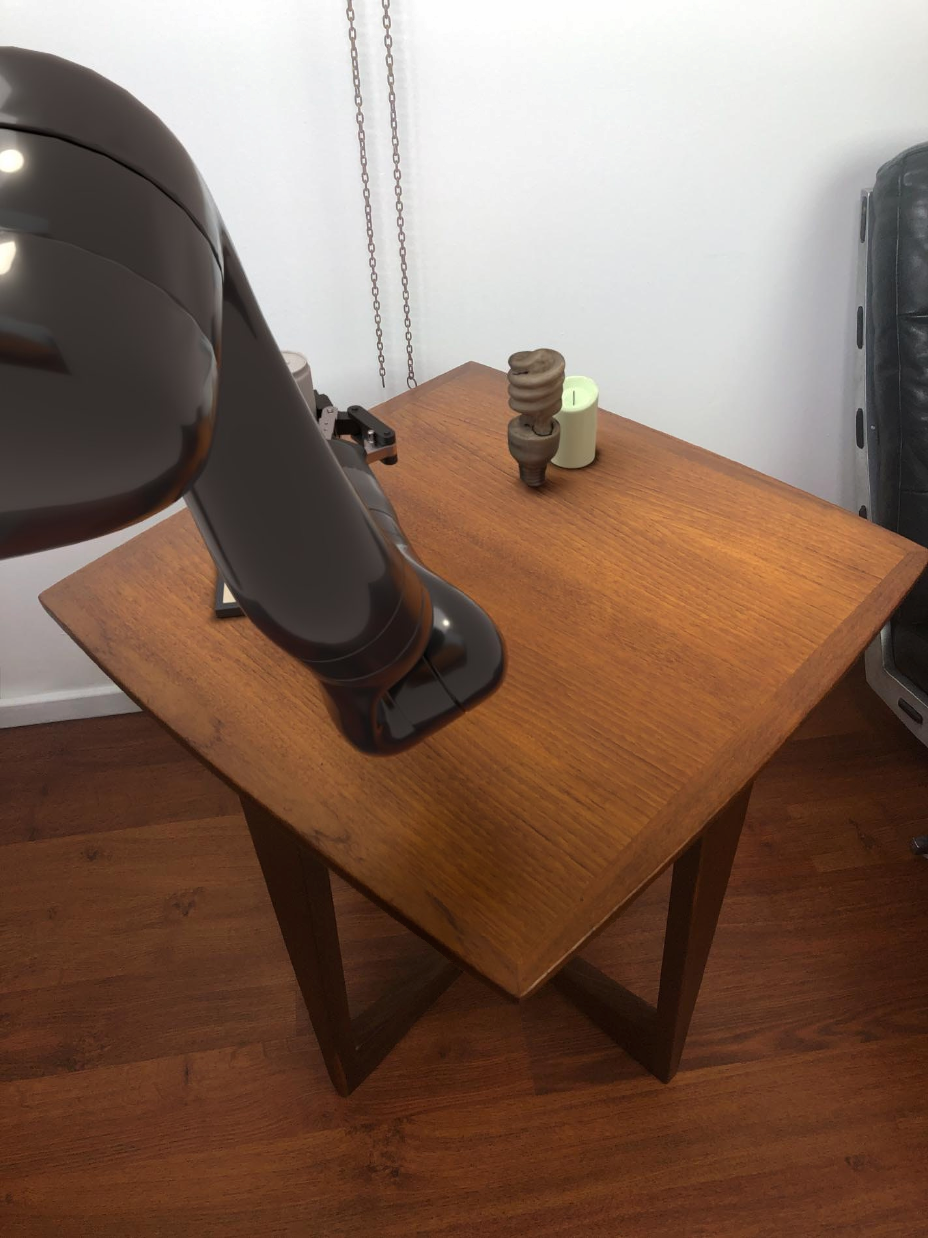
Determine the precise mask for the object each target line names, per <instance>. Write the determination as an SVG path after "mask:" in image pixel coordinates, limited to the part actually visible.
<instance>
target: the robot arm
mask: <svg viewBox="0 0 928 1238" xmlns="http://www.w3.org/2000/svg"><path fill="white" fill-rule="evenodd" d="M280 350H281V349H280V346H279V344H278V343H277V340H276V338H275V337H274V334H273V332H272V330H271V328H270V326H269V324H268V322H267V320H266V318H265V315H264V313H263V310H262V308H261V305H260V303H259V301H258V299H257V296H256V294H255V292H254V289H253V286H252V285H251V283H250V280H249V277H248V275H247V273H246V270H245V267H244V265H243V263H242V261H241V258H240V256H239V253H238V251H237V249H236V246H235V244H234V242H233V239H232V237H231V235H230V232H229V229H228V228H227V225H226V223H225V220H224V219H223V216H222V213H221V212H220V209H219V207H218V205H217V203H216V201H215V198H214V196H213V194H212V192H211V190H210V188H209V186H208V184H207V182H206V179H205V177H204V176H203V174H202V173H201V171H200V170H199V168H198V166H197V164H196V163H195V161H194V160H193V157H192V156H191V155H190V153H189V151H188V150H187V148H186V147H185V146H184V144H183V143H182V142H181V140H180V139H179V138H178V137H177V136H176V134H175V133H174V132H173V131H172V130H171V128H170V127H169V126H168V125H167V124H166V123H165V122H164V121H163V120H162V119H161V117H160V116H158V115H157V114H156V113H155V112H154V111H152V109H150V108H149V107H148V106H146V104H144V103H143V102H142V101H140V100H139V99H138V98H137V97H136V96H134V95H133V94H132V93H131V92H129V90H127V89H126V88H124V87H123V86H121V85H119V84H117V83H116V82H114V81H113V80H111V79H109V78H108V77H106V76H103V75H102V74H101V73H99V72H97V71H95V70H94V69H92V68H90V67H88V66H84V65H82V64H79V63H76V62H74V61H71V60H69V59H67V58H64V57H62V56H59V55H56V54H53V53H49V52H45V51H39V50H34V49H29V48H23V47H19V46H14V45H0V562H2V561H7V560H11V559H16V558H21V557H26V556H30V555H34V554H35V555H36V554H39V553H42V552H48V551H52V550H56V549H60V548H65V547H69V546H74V545H78V544H82V543H84V542H85V543H86V542H88V541H92V540H95V539H99V538H102V537H105V536H108V535H112V534H114V533H117V532H120V531H123V530H125V529H128V528H130V527H133V526H135V525H138V524H140V523H143V522H144V521H146V520H148V519H150V518H152V517H153V516H155V515H158V514H159V513H161V512H163V511H165V510H166V509H168V508H170V507H172V506H173V505H174V504H176V503H177V502H178V501H179V500H181V499H182V500H184V503H185V506H186V507H187V509H188V511H189V513H190V515H191V517H192V519H193V521H194V523H195V525H196V528H197V530H198V532H199V535H200V536H201V539H202V540H203V543H204V545H205V547H206V550H207V551H208V553H209V555H210V557H211V560H212V562H213V564H214V566H215V568H216V570H217V571H218V572H219V574H220V575H221V577H222V579H223V581H224V582H225V584H226V586H227V587H228V589H229V591H230V592H231V594H232V596H233V597H234V599H235V601H236V602H237V604H238V605H239V607H240V608H241V610H242V611H243V612H244V614H245V615H244V616H246V618H247V619H248V620H249V622H250V623H252V625H253V626H254V627H255V628H256V629H257V630H258V631H259V632H260V634H262V635H263V637H265V638H266V639H267V640H268V641H270V642H271V644H273V645H274V646H275V647H277V648H278V649H280V650H281V651H282V652H283V653H285V654H286V655H287V656H288V657H289V658H291V659H292V660H294V661H295V662H296V663H297V664H299V665H300V666H301V667H303V668H304V669H305V670H306V671H308V672H309V673H310V675H312V677H313V678H314V679H315V680H316V682H317V686H318V689H319V693H320V695H321V698H322V701H323V704H324V706H325V709H326V711H327V713H328V715H329V718H330V720H331V722H332V723H333V725H334V727H335V729H336V730H337V732H338V733H339V734H340V736H341V737H342V739H344V741H345V742H346V743H347V744H348V745H349V746H350V747H351V748H353V749H354V750H355V751H356V752H358V753H360V754H361V755H364V756H367V757H370V758H376V759H387V758H393V757H397V756H400V755H402V754H404V753H407V752H409V751H411V750H412V749H414V748H415V747H417V746H418V745H420V744H422V743H424V741H426V740H428V738H430V737H432V736H434V735H435V734H437V733H438V732H440V731H442V730H443V729H445V728H446V727H448V726H450V725H451V724H453V723H455V722H456V721H457V720H459V719H460V718H463V717H464V716H465V715H466V714H467V713H470V712H472V711H473V710H475V709H476V708H478V707H480V706H482V705H483V704H484V703H486V702H487V701H489V700H490V699H491V698H492V697H494V696H495V695H496V694H497V693H498V692H499V690H500V689H501V688H502V687H503V686H504V683H505V681H506V678H507V674H508V670H509V660H510V659H509V651H508V646H507V642H506V639H505V637H504V635H503V633H502V631H501V629H500V628H499V626H498V624H497V623H496V622H495V620H494V619H493V617H492V616H491V615H490V614H489V613H488V612H487V611H486V610H485V608H484V607H482V606H481V605H480V604H479V603H478V602H476V601H475V600H474V599H473V598H472V597H471V596H469V595H468V594H467V593H465V592H464V591H463V590H462V589H460V588H459V587H457V586H455V584H453V583H451V582H449V581H448V580H447V579H446V578H444V577H442V576H440V575H439V574H438V573H436V572H435V571H434V570H432V569H431V568H430V567H429V566H428V565H426V563H424V561H423V560H422V559H421V558H420V556H419V554H418V553H417V552H416V550H415V549H414V547H413V545H412V543H411V542H410V540H409V538H408V537H407V535H406V534H405V531H404V530H403V528H402V526H401V524H400V523H401V522H400V520H399V517H398V514H397V512H396V510H395V508H394V506H393V504H392V502H391V500H390V499H389V497H388V496H387V494H386V492H385V490H384V488H383V487H382V485H381V484H380V482H379V481H378V479H377V477H376V475H375V474H374V472H373V470H372V468H371V467H370V465H371V464H372V463H375V462H378V461H379V462H380V463H381V464H382V465H385V466H394V465H396V464H397V463H398V462H399V458H398V449H397V448H398V447H397V437H396V431H395V430H394V429H393V428H391V427H390V426H388V425H387V424H386V423H384V422H383V421H381V420H380V419H379V418H378V417H376V416H375V415H373V413H371V412H370V411H368V410H367V409H366V408H364V407H363V406H361V405H360V404H359V405H357V404H353V405H350V406H348V407H347V408H346V411H344V410H343V411H341V410H339V408H338V407H337V406H335V405H333V402H332V400H331V399H330V397H329V396H328V395H327V394H325V393H320V392H319V391H318V390H317V389H316V388H314V396H315V402H316V409H317V416H318V423H317V421H316V420H315V418H314V416H313V414H312V412H311V410H310V408H309V406H308V404H307V402H306V400H305V398H304V396H303V394H302V392H301V390H300V388H299V386H298V384H297V382H296V381H295V379H294V377H293V375H292V373H291V371H290V369H289V367H288V365H287V363H286V361H285V359H284V357H283V355H282V353H281V351H280ZM343 436H350V439H351V440H352V441H350V440H347V439H344V438H343ZM218 572H217V573H218Z"/></svg>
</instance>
